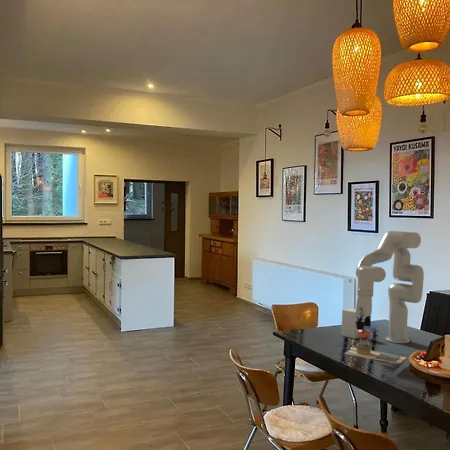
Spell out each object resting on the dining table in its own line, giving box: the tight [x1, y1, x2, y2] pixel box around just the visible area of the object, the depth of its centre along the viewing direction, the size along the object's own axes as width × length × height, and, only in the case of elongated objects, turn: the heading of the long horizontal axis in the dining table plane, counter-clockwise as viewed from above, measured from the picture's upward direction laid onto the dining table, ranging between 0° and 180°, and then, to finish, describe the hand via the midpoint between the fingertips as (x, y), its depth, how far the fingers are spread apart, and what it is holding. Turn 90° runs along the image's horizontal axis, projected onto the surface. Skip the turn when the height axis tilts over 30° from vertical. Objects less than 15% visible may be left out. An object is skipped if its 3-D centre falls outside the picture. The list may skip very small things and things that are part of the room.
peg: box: [357, 328, 372, 346], centre depth 241 cm, size 6×6×11 cm
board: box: [344, 342, 408, 368], centre depth 238 cm, size 14×26×6 cm, turn 55°
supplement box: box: [341, 307, 364, 340], centre depth 279 cm, size 9×9×15 cm
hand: (363, 327), depth 241 cm, fingers open, 9 cm apart
